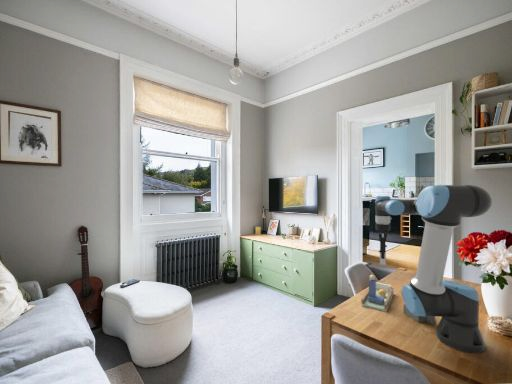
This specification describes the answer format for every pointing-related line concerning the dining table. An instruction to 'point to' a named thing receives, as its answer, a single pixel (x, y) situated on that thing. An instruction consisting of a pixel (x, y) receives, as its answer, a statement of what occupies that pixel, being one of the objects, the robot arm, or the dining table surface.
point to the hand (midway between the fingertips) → (382, 261)
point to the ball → (382, 292)
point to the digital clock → (418, 318)
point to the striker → (374, 291)
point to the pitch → (386, 298)
